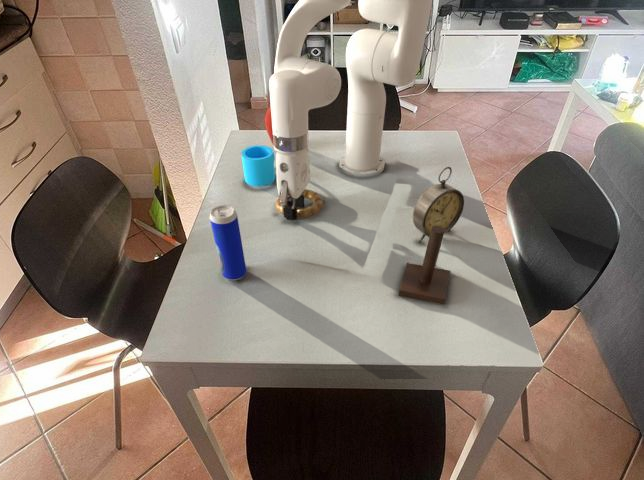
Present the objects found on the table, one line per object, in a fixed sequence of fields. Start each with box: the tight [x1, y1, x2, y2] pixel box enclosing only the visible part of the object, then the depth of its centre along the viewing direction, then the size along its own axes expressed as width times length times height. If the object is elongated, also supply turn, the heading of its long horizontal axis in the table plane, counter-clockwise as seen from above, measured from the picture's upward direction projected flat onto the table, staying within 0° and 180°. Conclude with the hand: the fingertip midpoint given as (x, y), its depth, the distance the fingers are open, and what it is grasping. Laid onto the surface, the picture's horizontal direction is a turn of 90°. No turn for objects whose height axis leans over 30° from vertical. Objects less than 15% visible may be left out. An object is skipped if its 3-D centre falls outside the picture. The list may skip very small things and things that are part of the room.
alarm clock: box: [412, 166, 465, 244], centre depth 92 cm, size 11×5×16 cm, turn 117°
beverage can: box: [209, 204, 247, 282], centre depth 85 cm, size 5×5×15 cm
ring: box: [274, 188, 324, 219], centre depth 106 cm, size 12×12×2 cm
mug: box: [240, 144, 276, 187], centre depth 113 cm, size 12×8×8 cm
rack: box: [397, 226, 451, 306], centre depth 82 cm, size 9×9×14 cm
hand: (294, 214), depth 104 cm, fingers open, 4 cm apart
